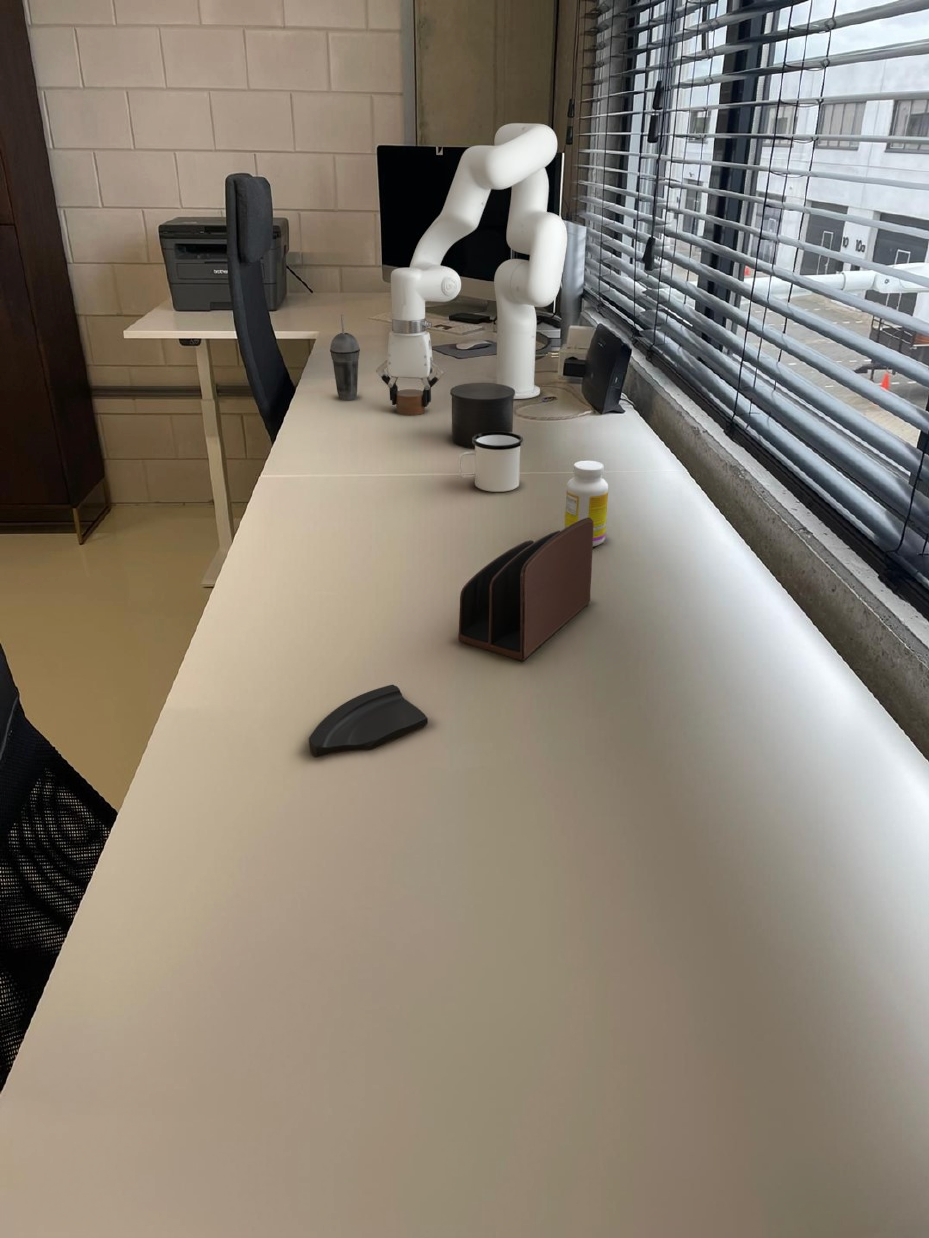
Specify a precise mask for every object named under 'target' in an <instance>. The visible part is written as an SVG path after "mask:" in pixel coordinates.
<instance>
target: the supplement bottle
mask: <svg viewBox="0 0 929 1238" xmlns="http://www.w3.org/2000/svg"><path fill="white" fill-rule="evenodd" d="M604 467H605V466H604V464H603V463H602V462H599V461H596V460H579V461H576V462H575V463H574V464H573V474H574V476H573V477H572V478H570V479H569V480H568V482H567V484H566V489H565V509H564V510H565V511H564V529H565V528H566V527H568V526H570V525H572V524H573V523H575V522H577V521H579V520H582V519H584V518H587V517H589V518H591V519H592V520H593V524H594V528H593V547H597V546H600V545H601V544H603V543H604V541H605V539H606V533H607V532H606V531H607V515H608V503H609V502H608V501H609V484H608V482H607V480H605V479H604V478H603V477H602V476H603V474H604V469H605V468H604Z"/></svg>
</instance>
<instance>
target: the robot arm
mask: <svg viewBox="0 0 929 1238" xmlns="http://www.w3.org/2000/svg"><path fill="white" fill-rule="evenodd" d="M557 151H558V138H557V135H556V133H555V131H554V130H553V129H552V128H551V127H550V126H548V125H546V124H543V123H524V122H523V123H522V122H512V123H507V124H504V125H502V126H500V127H499V128H498V130H497V131H496V133H495V135H494V143H493V145H486V144H485V145H481V144H480V145H473V146H470V147H468V148H467V149H465V150H464V152H463V153H462V155H461V157H460V160H459V163H458V165H457V169H456V171H455V174H454V177H453V178H452V179H453V180H452V182H451V185H450V188H449V191H448V194H447V196H446V199H445V202H444V205H443V208H442V210H441V211H440V214H439V215H438V216H437V217H436V218H435V220H434V221H433V222H432V223H431V225H430V226H429V227H428V228H427V229H426V231H425V232H424V234H423V235H422V237H421V238H420V239H419V241H418V243H417V245H416V248H415V249H414V252H413V256H412V258H411V261H410V264H409V267H399V268H395V269H393V270H392V271H391V273H390V300H391V302H390V304H391V305H390V306H391V329H392V330H391V331H389V334H388V340H387V341H388V342H387V351H386V360H385V361H384V362H382V363H381V364H380V365H379V366H378V367H377V368H376V369H375V373H376V374H377V375H378V376H379V377H380V378H381V380H382V381H383V382H384V384H385V385H387V388H389V401H391V405H392V406H396V392H397V391H399V389H398V387H399V386H398V385H397V381H398V379H399V378H402V379H403V378H404V379H420V380H421V382H422V384H423V386H424V388H423V389H422V391H423V406H424V407H425V408H427V407H428V406H429V404H430V403H431V402H432V387H433V386H435V385H436V384H437V382H438V381H440V379H441V378H442V377H443V376H444V374H445V371H444V370H443V369H442V368H441V367H440V366H439V365H438V364H437V363H436V362H435V361H434V359H433V349H432V347H433V346H432V341H431V335H430V332H429V331H427V329H432V325H433V324H432V323H433V322H432V321H428V319H427V318H426V302H435V303H437V302H438V303H446V302H450V301H452V300H454V299H455V298H456V297H457V296H458V295H459V293H460V291H461V289H462V280H461V278H460V275H459V274H458V272H457V271H456V270H454V269H453V268H451V267H448V266H445V265H441V264H442V261H443V260H444V257H445V256H446V254H447V252H448V251H449V249H450V248H451V247H452V246H453V245H454V244H455V243H457V242H458V241H460V240H461V239H463V238H464V237H466V236H468V235H469V234H471V233H473V232H474V231H475V230H477V228H478V226H479V224H480V221H481V218H482V215H483V212H484V209H485V208H486V205H487V201H488V199H489V196H490V194H491V191H492V190H504V189H505V190H506V189H508V188H511V196H510V204H509V210H508V211H509V212H508V219H507V227H506V244H507V245H508V247H509V248H510V249H511V250H512V251H514V252H517V253H520V254H523V255H524V254H525V255H529V260H527V259H522V258H511V259H508V260H505V261H503V262H502V263H501V264H500V265H499V266H498V267H497V269H496V271H495V274H494V276H493V277H494V279H493V289H494V294H495V301H496V302H495V303H496V312H497V313H496V314H497V315H496V317H497V319H496V320H497V321H496V324H497V325H496V366H495V367H496V368H495V369H496V371H495V372H496V374H495V375H496V376H495V384H501V385H506V386H509V387H511V388H513V389H514V390H515V395H514V400H524V399H525V400H526V399H531V398H535V397H537V396H539V395H540V394H541V388H540V387H539V386H537V385H536V384H535V371H536V370H535V369H536V344H537V343H536V342H537V312H536V309H535V307H537V308H543V307H544V308H545V307H547V306H549V305H552V303H553V302H554V301H555V300H556V298H557V295H559V294H558V293H559V291H560V287H561V284H562V278H563V271H564V266H565V261H566V260H565V259H566V253H567V247H568V230H567V226H566V224H565V221H564V220H563V219H562V217H561V216H559V215H557V214H555V213H553V212H550V211H549V212H548V211H547V210H548V203H549V192H550V185H549V183H550V182H549V177H548V173H547V170H546V167H547V166H548V165H549V164H550V163H552V161H553V160H554V158H555V156H556V154H557ZM385 369H386V372H385ZM433 372H434V373H435V375H434V377H432V379H431V378H430V375H431V374H432V373H433Z"/></svg>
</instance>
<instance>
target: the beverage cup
mask: <svg viewBox="0 0 929 1238" xmlns="http://www.w3.org/2000/svg"><path fill="white" fill-rule="evenodd" d="M340 321H341V332H340V333H338V334H336V335H335V336H334V337H333V339H332V341H331V343H330V349H329V352H330V357H331V360H332V365H333V372H334V380H335V386H336V393H337V396H338V397H337V398H338V400H341V401H354V400H356V399H357V398H358V396H357V395H358V382H359V381H358V379H359V377H358V376H359V359H360V352H361V349H360V348H361V347H360V344H359V341H358V339H357V338H356V337H355V336H354V335H353V334H351V333H349V332H345V323H344V314H340Z"/></svg>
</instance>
